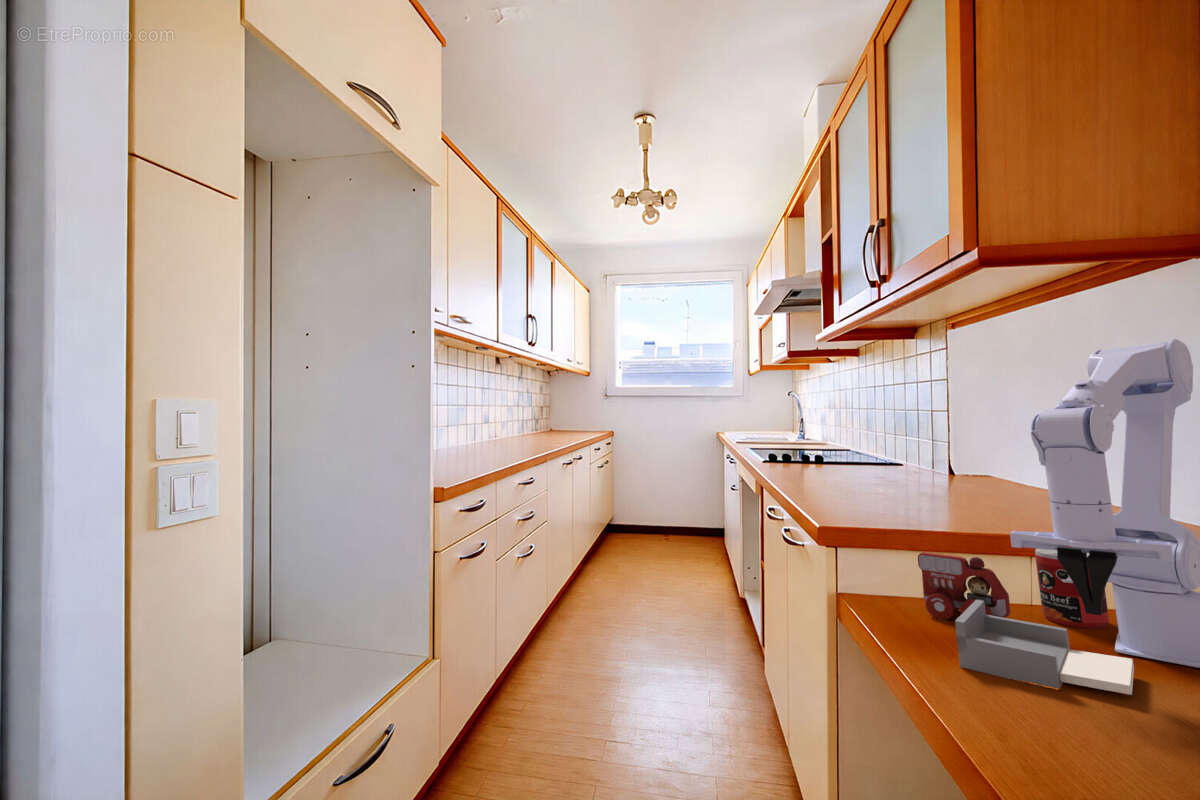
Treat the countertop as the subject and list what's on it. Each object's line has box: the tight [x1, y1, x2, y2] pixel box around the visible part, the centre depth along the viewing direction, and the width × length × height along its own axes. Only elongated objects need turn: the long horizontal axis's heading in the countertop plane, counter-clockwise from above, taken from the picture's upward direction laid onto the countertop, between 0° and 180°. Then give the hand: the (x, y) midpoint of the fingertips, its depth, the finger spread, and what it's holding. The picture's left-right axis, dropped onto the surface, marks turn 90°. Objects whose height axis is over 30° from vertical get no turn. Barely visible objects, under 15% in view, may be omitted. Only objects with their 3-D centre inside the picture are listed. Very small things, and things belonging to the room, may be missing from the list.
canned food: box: [1034, 548, 1110, 630], centre depth 82 cm, size 8×8×11 cm
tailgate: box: [1060, 649, 1135, 696], centre depth 62 cm, size 1×9×6 cm
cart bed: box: [954, 600, 1071, 689], centre depth 68 cm, size 10×12×6 cm
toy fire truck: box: [917, 551, 1011, 621], centre depth 85 cm, size 7×12×10 cm, turn 40°
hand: (1094, 612), depth 62 cm, fingers closed
